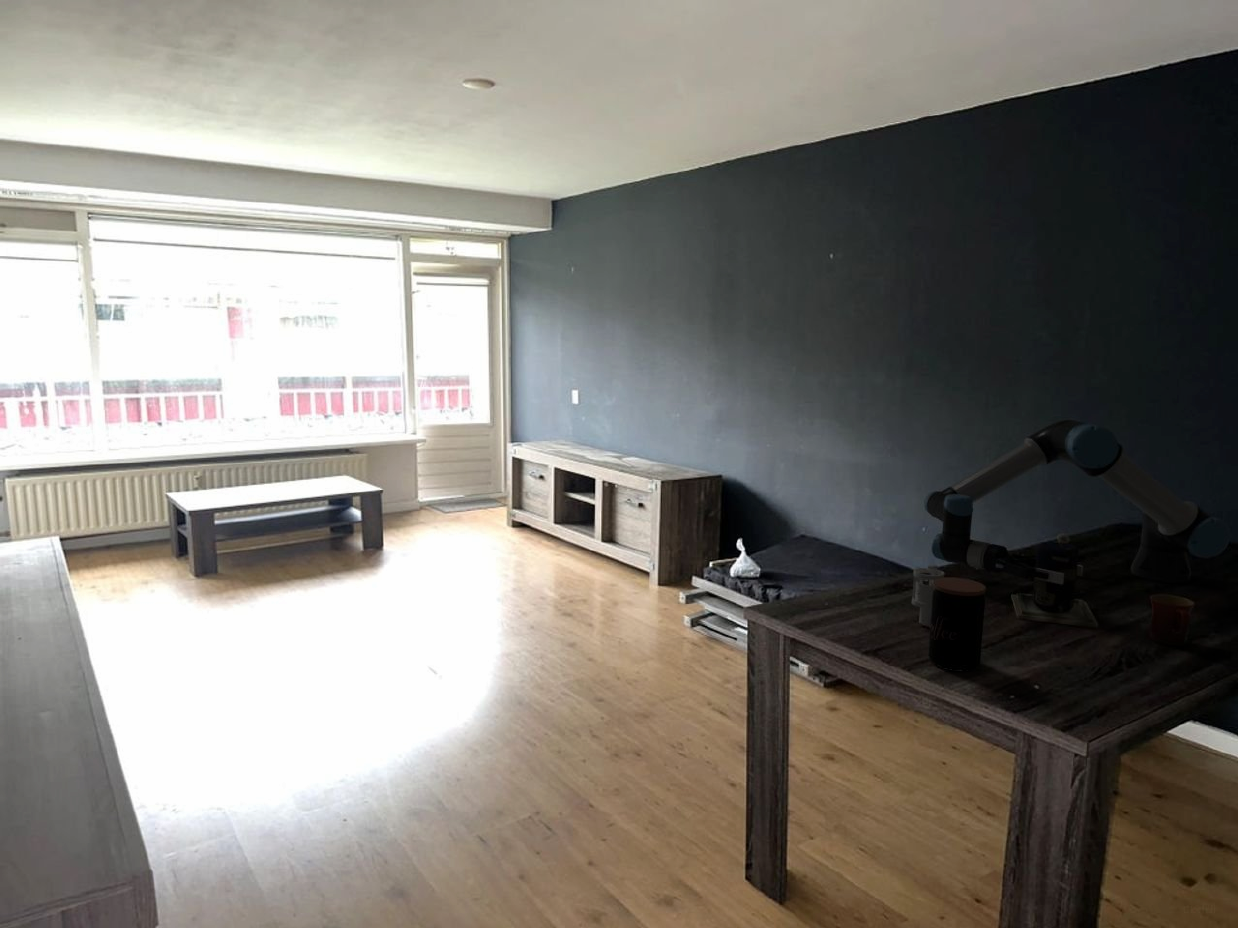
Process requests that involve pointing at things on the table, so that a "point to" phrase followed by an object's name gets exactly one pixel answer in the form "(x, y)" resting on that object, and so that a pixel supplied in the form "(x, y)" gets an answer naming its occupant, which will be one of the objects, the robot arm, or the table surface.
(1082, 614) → the square tray
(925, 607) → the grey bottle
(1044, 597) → the canister
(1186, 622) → the mug
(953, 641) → the coffee jar
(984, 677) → the table surface
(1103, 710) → the table surface
